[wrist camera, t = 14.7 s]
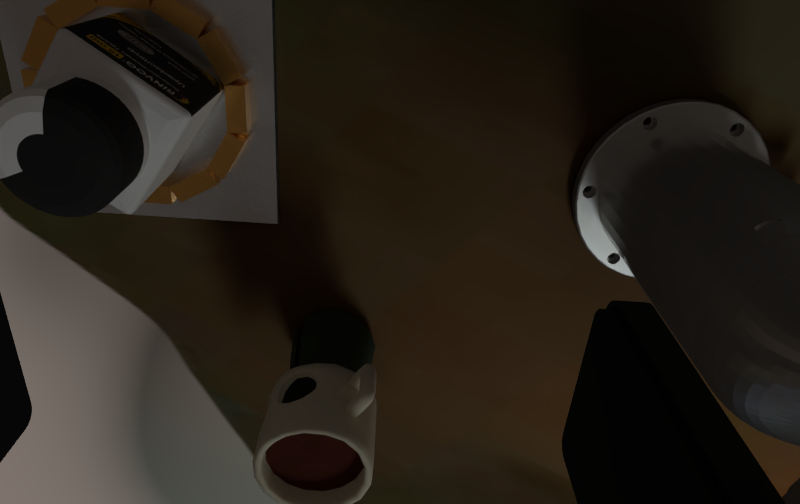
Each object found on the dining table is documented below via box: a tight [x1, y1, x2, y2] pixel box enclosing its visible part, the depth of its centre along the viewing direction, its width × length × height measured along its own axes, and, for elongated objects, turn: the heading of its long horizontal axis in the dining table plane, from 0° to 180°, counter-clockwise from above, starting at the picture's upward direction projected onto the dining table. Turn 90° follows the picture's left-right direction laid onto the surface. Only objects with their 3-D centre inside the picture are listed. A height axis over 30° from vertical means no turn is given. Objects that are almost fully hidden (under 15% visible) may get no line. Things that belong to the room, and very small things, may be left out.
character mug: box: [253, 311, 377, 504], centre depth 41 cm, size 11×7×13 cm, turn 141°
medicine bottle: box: [0, 12, 224, 217], centre depth 32 cm, size 7×7×12 cm
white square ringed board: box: [0, 0, 280, 224], centre depth 37 cm, size 16×16×2 cm
